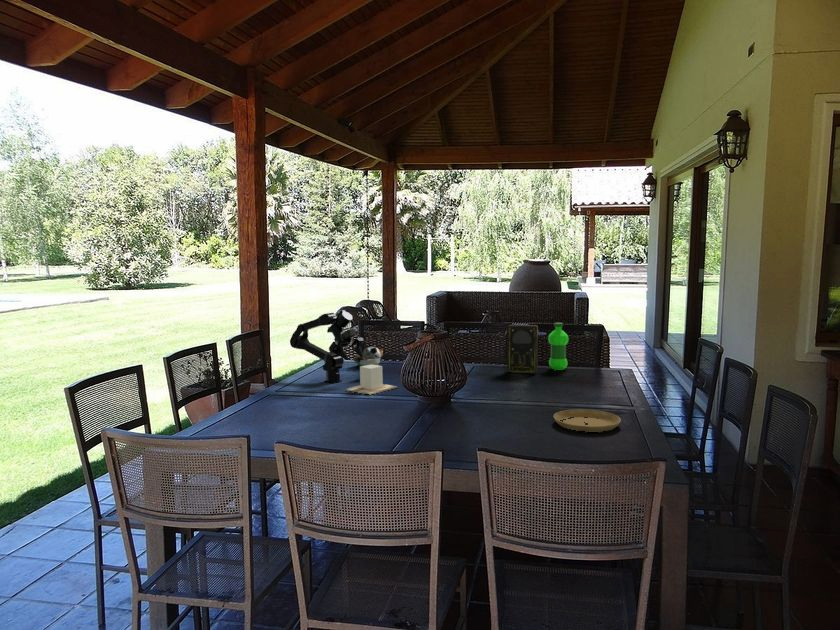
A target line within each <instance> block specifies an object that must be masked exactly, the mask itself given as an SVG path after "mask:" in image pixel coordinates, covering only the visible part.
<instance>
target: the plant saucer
mask: <svg viewBox="0 0 840 630" xmlns="http://www.w3.org/2000/svg"><path fill="white" fill-rule="evenodd" d="M570 417H574V418H571V419H568V418H570ZM584 417H588V418H584ZM553 418H554V421H555V422H556V423H557V424H558V425H559V426H561V427H562V428H564V429H566V428H567V430H569V429H571V430H570V431H572V430H576V431H575V432H577V431H585V432H584V433H587V432H598V433H604V432H603V431H606V432H608V431H609V430H610V431H612V430H614V429H615V428H616V427H618V426H619V424H620V423H621V421H622V419H621V418H620V417H619V416H618V414H617V415H616V414H614V413H611V412H607V411H603V410H598V409H597V410H595V409H567V410H561V411H557V412H556V413H554V414H553ZM597 418H598V419H597ZM563 419H566V420H563ZM560 420H563V422H562V421H560ZM584 422H585V423H588V425H585V423H584Z"/></svg>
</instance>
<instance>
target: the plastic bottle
mask: <svg viewBox="0 0 840 630" xmlns="http://www.w3.org/2000/svg"><path fill="white" fill-rule="evenodd" d="M553 326H554V328H555V329H554V330H552V331H551V332H550V333H549V334H548V336H547V338H548V340H547V341H548V343H549V344H550V358H549V360H548V365H549V367H550V368H551V369H552V370H553V369H554V370H553V371H556V370H562V371H564V370H565V369H566V368H567V367H568V364H569V363H568V359H567V344H568V343H569V340H570V339H569V336H568V334H567V333H566V332H565V331H564V330H563V329H562V328H564V327H563V326H564V323H563V322H554V325H553Z"/></svg>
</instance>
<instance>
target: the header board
mask: <svg viewBox="0 0 840 630" xmlns="http://www.w3.org/2000/svg"><path fill="white" fill-rule="evenodd" d="M394 388H397V389H398V386H397V385H392V384H384V383H383V387H381V388H377V389H373V390H369V389H364V388H360V385H355V386H352V387H347V388H345V391H346V390H348V391H347V392H349V391H354V392H358V393H357V394H359V393H363V394H362V395H364V394H369V395H371V394H375V395H377V394H376V393H379V394H381V393H380V392H383V391H386V392H388V391H387V390H390V391H392V390H391V389H394ZM394 390H395V389H394ZM354 392H353V393H354ZM383 393H384V392H383ZM369 395H368V396H369ZM371 396H372V395H371Z"/></svg>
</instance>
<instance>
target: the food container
mask: <svg viewBox="0 0 840 630" xmlns="http://www.w3.org/2000/svg"><path fill="white" fill-rule="evenodd" d="M380 362H381V359H380V360H379V358H378V357H375V358H374V359H367V360H360V364H361V366H366V365H371V364H372V365H378V366H379V364H380ZM361 366H360V367H361Z"/></svg>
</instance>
